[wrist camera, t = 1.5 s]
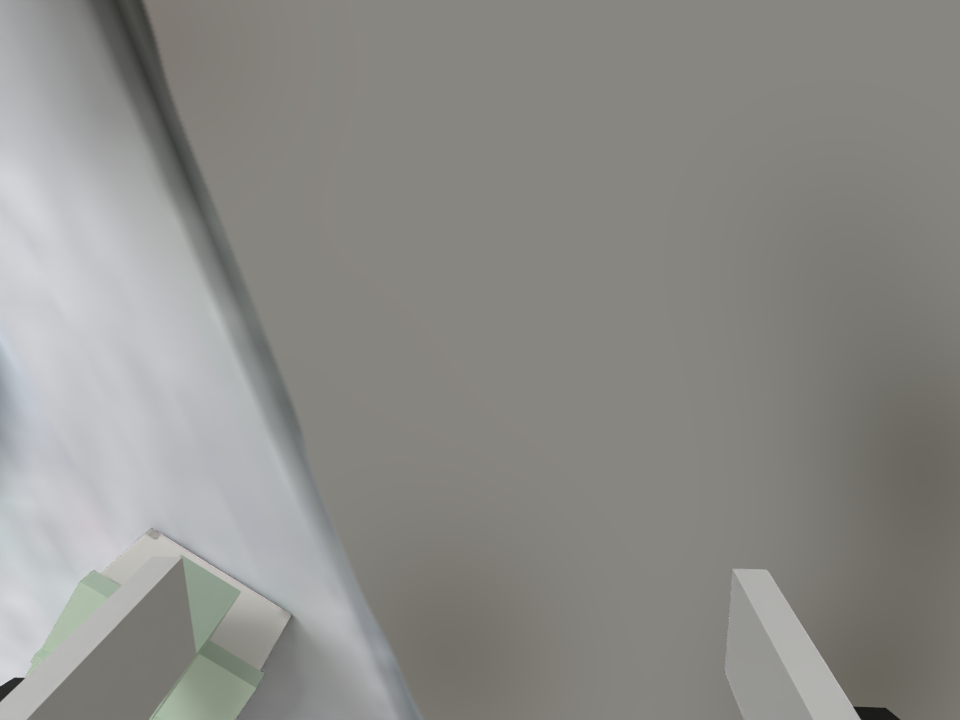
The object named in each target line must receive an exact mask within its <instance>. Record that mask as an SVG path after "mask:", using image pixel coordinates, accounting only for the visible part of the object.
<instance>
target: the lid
mask: <svg viewBox="0 0 960 720" xmlns="http://www.w3.org/2000/svg"><path fill="white" fill-rule="evenodd" d="M179 557H182V558H183V565H184V572H185V579H186V586H187V593H188V600H189V607H190V614H191V620H192V627H193V634H194V641H195V648H196V655H195V657H194V658H193V660H192V661H191V662H190V664H189V665H188V666H187V668H186V669H185V671H184V672H183V673H182V675H181V676H180V677H179V679H178V680H177V682H176V683H175V684H174V686H173V687H172V688H171V690H170V691H169V693H168V694H167V695H166V697H165V698H164V699H163V701H162V702H161V704H160V705H159V706H158V708H157V709H156V710H155V712H154V713H153V715H152V716H151V717H150V719H149V720H235V719H236V717H237V716H238V715H239V713H240V712H241V710H242V709H243V707H244V706H245V705H246V703H247V702H248V700H249V699H250V697H251V696H252V695H253V693H254V692H255V690H256V689H257V687H258V685H259V684H260V682H261V680H262V678H263V676H264V674H265V673H263V672H261V671H260V670H258V669H256V668H255V667H253V666H251V665H250V664H248V663H246V662H245V661H243V660H241V659H240V658H238V657H237V656H235V655H233V654H232V653H230V652H228V651H227V650H225V649H223V648H222V647H220V646H218V645H217V644H215V643H213V642H212V641H210V639H211V637H212V636H213V634H214V633H215V631H216V630H217V628H218V627H219V625H220V624H221V622H222V621H223V619H224V618H225V616H226V614H227V613H228V611H229V610H230V608H231V607H232V605H233V604H234V602H235V601H236V599H237V598H238V596H239V595H240V593H241V591H240V590H238V589H236V588H235V587H233V586H231V585H230V584H228V583H227V582H225V581H223V580H222V579H220V578H218V577H217V576H215V575H214V574H212V573H210V572H209V571H207V570H205V569H204V568H202V567H201V566H199V565H197V564H196V563H194V562H192V561H191V560H189V559H188V558H186V557H184V556H183V555H180V556H179ZM120 587H121V586H120V585H118V584H116V583H115V582H113V581H111V580H110V579H108V578H106V577H105V576H103V575H102V574H100V573H98V572H97V571H95V570H93V571H91V572H90V573H89V574H88V575H87V576H86V577H84V578H83V579H82V580H81V581H80V582H79V584H78V586H77V587H76V589H75V591H74V593H73V594H72V596H71V598H70V600H69V601H68V603H67V605H66V607H65V608H64V610H63V612H62V614H61V615H60V617H59V619H58V621H57V622H56V624H55V626H54V628H53V630H52V631H51V633H50V635H49V637H48V638H47V640H46V642H45V644H44V645H43V647H42V648H41V649H40V650H39V651H38V652H37V653H36V654H35V655H34V657H33V658H32V660H31V663H33V665H32V666H31V668H30V670H29V672H28V673H27V675H26V677H27V676H28V675H29V674H30V673H31V672H32V671H33V670H34V669H35V668H36V667H37V666H39V665H40V664H41V663H42V662H43V661H44V660H45V659H46V658H47V657H48V656H49V655H50V654H51V653H52V652H53V651H54V650H55V649H56V648H57V647H58V646H59V645H60V644H61V643H63V642H64V641H65V640H66V639H67V638H68V637H69V636H70V635H71V634H72V633H73V632H74V631H75V630H76V629H77V628H78V627H79V626H80V625H81V624H82V623H83V622H84V621H85V620H87V619H88V618H89V617H90V616H91V615H92V614H93V613H94V612H95V611H96V610H97V609H98V608H99V607H100V606H101V605H102V604H103V603H104V602H105V601H106V600H107V599H108V598H109V597H111V596H112V595H113V594H114V593H115V592H116V591H117V590H118V589H119V588H120ZM26 677H25V678H26Z"/></svg>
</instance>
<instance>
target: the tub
mask: <svg viewBox="0 0 960 720" xmlns="http://www.w3.org/2000/svg"><path fill="white" fill-rule="evenodd" d="M180 555H183V556H184V557H186V558H188V559H189V560H191V561H192V562H194V563H196V564H197V565H199V566H201V567H202V568H204V569H205V570H207V571H209V572H210V573H212V574H214V575H215V576H217V577H218V578H220V579H222V580H223V581H225V582H227V583H228V584H230V585H231V586H233V587H235V588H236V589H238V590H240V591H241V593H240V595H239V596H238V598H237V599H236V601H235V602H234V604H233V605H232V607H231V608H230V610H229V611H228V613H227V614H226V616H225V618H224V619H223V621H222V622H221V624H220V625H219V627H218V628H217V630H216V631H215V633H214V634H213V636H212V637H211V639H210V641H212V642H213V643H215V644H217V645H218V646H220V647H222V648H223V649H225V650H227V651H228V652H230V653H232V654H233V655H235V656H237V657H238V658H240V659H241V660H243V661H245V662H246V663H248V664H250V665H251V666H253V667H255V668H256V669H258V670H261V668H262V666H263V665H264V663H265V661H266V659H267V658H268V656H269V654H270V652H271V651H272V649H273V647H274V645H275V643H276V642H277V640H278V638H279V636H280V635H281V633H282V631H283V629H284V628H285V626H286V624H287V622H288V621H289V619H290V617H291V615H292V614H290V613H288V612H287V611H285V610H284V609H282V608H280V607H279V606H277V605H275V604H274V603H272V602H271V601H269V600H267V599H266V598H264V597H262V596H261V595H259V594H258V593H256V592H254V591H253V590H251V589H250V588H248V587H246V586H245V585H243V584H241V583H240V582H238V581H237V580H235V579H233V578H232V577H230V576H228V575H227V574H225V573H224V572H222V571H220V570H219V569H217V568H215V567H214V566H212V565H211V564H209V563H207V562H206V561H204V560H203V559H201V558H199V557H198V556H196V555H194V554H193V553H191V552H190V551H188V550H186V549H185V548H183V547H181V546H180V545H178V544H177V543H175V542H173V541H172V540H170V539H169V538H167V537H165V536H164V535H162V534H160V533H159V532H157V531H156V530H154V529H152V528H151V529H150V530H149V531H148V532H147V533H146V534H144V535H143V536H142V537H141V538H140V539H139V540H138V541H136V542H135V543H134V544H133V545H132V546H131V547H130V548H129V549H127V550H126V551H125V552H124V553H123V554H122V555H121V556H120V557H118V558H117V559H116V560H115V561H114V562H113V563H112V564H110V565H109V566H108V567H107V568H106V569H105V570H104V571H103V572H101V573H100V574H102V575H103V576H105V577H106V578H108V579H110V580H111V581H113V582H115V583H116V584H118V585H120V586H122V585H123V584H124V583H125V582H126V581H127V580H128V579H129V578H130V577H131V576H132V575H133V574H135V573H136V572H137V571H138V570H139V569H140V568H141V567H142V566H143V565H144V564H145V563H146V562H147V561H148V560H149V559H150V558H151V557H152V556H158V557H179V556H180Z"/></svg>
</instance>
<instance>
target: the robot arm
mask: <svg viewBox="0 0 960 720" xmlns="http://www.w3.org/2000/svg"><path fill="white" fill-rule="evenodd" d="M195 655H196V648H195V641H194V634H193V627H192V620H191V614H190V607H189V600H188V593H187V586H186V579H185V572H184V565H183V558H182V557H158V556H152V557H151V558H150V559H149V560H148V561H147V562H146V563H145V564H144V565H143V566H142V567H141V568H140V569H139V570H138V571H137V572H136V573H135V574H133V575H132V576H131V577H130V578H129V579H128V580H127V581H126V582H125V583H124V584H123V585H122V586H121V587H120V588H119V589H118V590H117V591H116V592H115V593H114V594H113V595H112V596H111V597H109V598H108V599H107V600H106V601H105V602H104V603H103V604H102V605H101V606H100V607H99V608H98V609H97V610H96V611H95V612H94V613H93V614H92V615H91V616H90V617H89V618H88V619H87V620H85V621H84V622H83V623H82V624H81V625H80V626H79V627H78V628H77V629H76V630H75V631H74V632H73V633H72V634H71V635H70V636H69V637H68V638H67V639H66V640H65V641H64V642H63V643H61V644H60V645H59V646H58V647H57V648H56V649H55V650H54V651H53V652H52V653H51V654H50V655H49V656H48V657H47V658H46V659H45V660H44V661H43V662H42V663H41V664H40V665H39V666H37V667H36V668H35V669H34V670H33V671H32V672H31V673H30V674H29V675H28V676H27V677H26V678H13V679H12V680H10V681H8V682H7V683H5V684H4V685H2V686H0V720H149V719H150V717H151V716H152V715H153V713H154V712H155V710H156V709H157V708H158V706H159V705H160V704H161V702H162V701H163V699H164V698H165V697H166V695H167V694H168V693H169V691H170V690H171V688H172V687H173V686H174V684H175V683H176V682H177V680H178V679H179V677H180V676H181V675H182V673H183V672H184V671H185V669H186V668H187V666H188V665H189V664H190V662H191V661H192V660H193V658H194V657H195ZM725 674H726V677H727V679H728V682H729V684H730V686H731V689H732V691H733V694H734V697H735V699H736V702H737V704H738V706H739V709H740V711H741V714H742V716H743V719H744V720H900V719H899V718H898V717H896V716H895V715H894V714H893V713H891V712H890V711H889V710H888V709H886V708H875V707H853V706H852V705H851V703H850V701H849V700H848V698H847V697H846V695H845V693H844V692H843V690H842V689H841V687H840V685H839V684H838V682H837V681H836V679H835V678H834V676H833V674H832V673H831V671H830V670H829V668H828V666H827V665H826V663H825V661H824V660H823V658H822V657H821V655H820V653H819V652H818V650H817V649H816V647H815V646H814V644H813V642H812V641H811V639H810V637H809V636H808V634H807V633H806V631H805V629H804V628H803V626H802V625H801V623H800V621H799V620H798V618H797V617H796V615H795V614H794V612H793V610H792V609H791V607H790V606H789V604H788V602H787V601H786V599H785V598H784V596H783V594H782V593H781V591H780V590H779V588H778V586H777V585H776V583H775V582H774V580H773V578H772V577H771V575H770V574H769V572H768V570H761V569H733V571H732V585H731V597H730V609H729V622H728V634H727V647H726V659H725Z"/></svg>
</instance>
